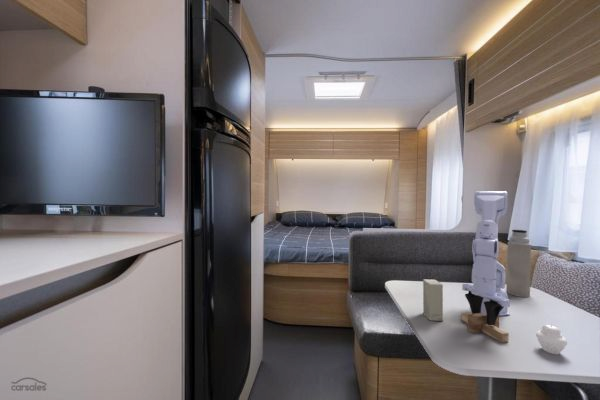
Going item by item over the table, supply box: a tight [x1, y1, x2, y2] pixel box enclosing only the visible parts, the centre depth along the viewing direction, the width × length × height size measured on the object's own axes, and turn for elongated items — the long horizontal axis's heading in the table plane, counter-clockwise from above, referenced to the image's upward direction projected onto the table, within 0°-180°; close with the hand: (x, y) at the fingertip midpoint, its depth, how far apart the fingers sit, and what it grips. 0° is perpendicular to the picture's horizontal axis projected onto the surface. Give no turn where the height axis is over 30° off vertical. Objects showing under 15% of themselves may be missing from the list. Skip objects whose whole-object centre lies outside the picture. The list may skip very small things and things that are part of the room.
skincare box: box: [422, 278, 444, 322], centre depth 91 cm, size 6×4×12 cm
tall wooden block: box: [467, 313, 500, 334], centre depth 82 cm, size 10×2×5 cm, turn 103°
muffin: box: [535, 324, 568, 355], centre depth 71 cm, size 6×6×7 cm
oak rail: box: [461, 311, 510, 343], centre depth 82 cm, size 2×14×2 cm, turn 13°
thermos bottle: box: [505, 229, 532, 298], centre depth 116 cm, size 8×8×28 cm
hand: (483, 320), depth 82 cm, fingers open, 4 cm apart
